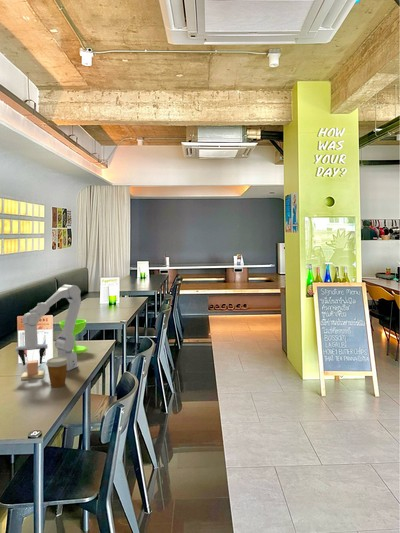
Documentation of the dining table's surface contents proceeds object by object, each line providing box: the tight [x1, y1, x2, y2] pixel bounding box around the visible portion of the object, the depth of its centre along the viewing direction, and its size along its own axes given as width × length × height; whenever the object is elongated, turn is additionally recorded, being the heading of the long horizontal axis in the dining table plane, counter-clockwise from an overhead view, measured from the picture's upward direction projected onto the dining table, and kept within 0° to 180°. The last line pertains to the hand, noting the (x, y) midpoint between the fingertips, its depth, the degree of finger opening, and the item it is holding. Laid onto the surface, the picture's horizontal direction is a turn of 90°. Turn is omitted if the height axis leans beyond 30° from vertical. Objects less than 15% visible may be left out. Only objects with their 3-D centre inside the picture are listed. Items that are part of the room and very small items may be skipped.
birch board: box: [20, 370, 45, 381], centre depth 201 cm, size 10×7×2 cm
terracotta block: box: [26, 359, 39, 375], centre depth 201 cm, size 4×4×6 cm
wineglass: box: [58, 318, 88, 354], centre depth 248 cm, size 16×16×18 cm
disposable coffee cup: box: [45, 356, 68, 388], centre depth 188 cm, size 10×10×12 cm
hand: (32, 364), depth 201 cm, fingers open, 7 cm apart
